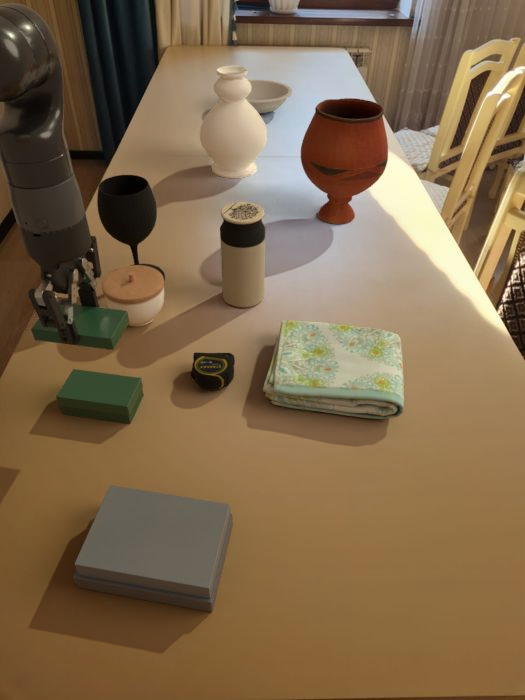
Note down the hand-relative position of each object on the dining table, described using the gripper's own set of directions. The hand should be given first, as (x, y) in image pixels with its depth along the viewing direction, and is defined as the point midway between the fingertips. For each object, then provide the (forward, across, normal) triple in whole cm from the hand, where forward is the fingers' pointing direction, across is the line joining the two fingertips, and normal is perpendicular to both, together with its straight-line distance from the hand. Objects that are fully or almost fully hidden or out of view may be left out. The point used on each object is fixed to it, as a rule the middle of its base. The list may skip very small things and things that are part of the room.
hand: (81, 326), depth 73 cm
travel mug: (+16, -32, +16) cm, 39 cm away
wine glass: (+16, -34, -6) cm, 38 cm away
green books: (+16, 0, 0) cm, 16 cm away
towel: (+16, -13, +35) cm, 40 cm away
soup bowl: (+16, -138, -1) cm, 139 cm away
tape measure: (+16, -9, +15) cm, 24 cm away
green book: (+1, 0, 0) cm, 1 cm away
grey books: (+16, +22, +16) cm, 31 cm away
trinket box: (+16, -22, -2) cm, 27 cm away
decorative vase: (+16, -90, +2) cm, 91 cm away
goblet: (+16, -68, +31) cm, 77 cm away
